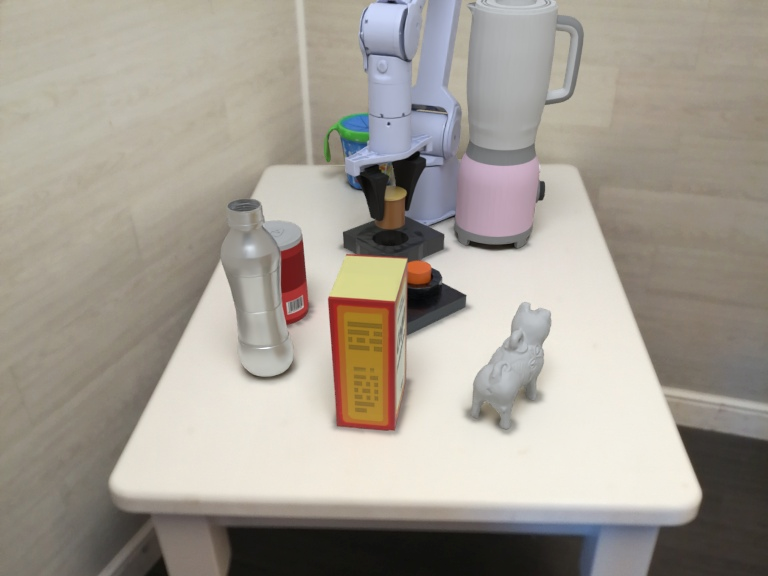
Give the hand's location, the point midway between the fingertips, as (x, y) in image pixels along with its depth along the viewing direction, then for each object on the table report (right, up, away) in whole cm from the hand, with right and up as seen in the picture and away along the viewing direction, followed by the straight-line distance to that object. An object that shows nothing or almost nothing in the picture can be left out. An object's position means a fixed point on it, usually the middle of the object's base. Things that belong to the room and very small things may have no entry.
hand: (390, 213), depth 106 cm
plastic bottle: (-15, -26, -17) cm, 35 cm away
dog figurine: (+13, -31, -22) cm, 40 cm away
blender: (+18, 0, +9) cm, 20 cm away
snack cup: (-4, +15, +24) cm, 29 cm away
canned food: (-15, -17, -7) cm, 24 cm away
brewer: (+3, -16, -7) cm, 18 cm away
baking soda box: (-2, -31, -22) cm, 38 cm away
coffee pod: (0, -1, +1) cm, 1 cm away
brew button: (+4, -12, -8) cm, 15 cm away
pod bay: (+1, -3, +6) cm, 6 cm away
